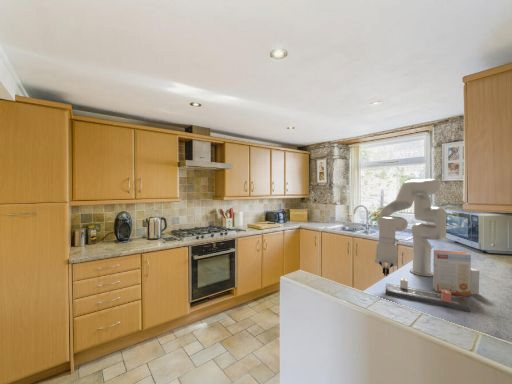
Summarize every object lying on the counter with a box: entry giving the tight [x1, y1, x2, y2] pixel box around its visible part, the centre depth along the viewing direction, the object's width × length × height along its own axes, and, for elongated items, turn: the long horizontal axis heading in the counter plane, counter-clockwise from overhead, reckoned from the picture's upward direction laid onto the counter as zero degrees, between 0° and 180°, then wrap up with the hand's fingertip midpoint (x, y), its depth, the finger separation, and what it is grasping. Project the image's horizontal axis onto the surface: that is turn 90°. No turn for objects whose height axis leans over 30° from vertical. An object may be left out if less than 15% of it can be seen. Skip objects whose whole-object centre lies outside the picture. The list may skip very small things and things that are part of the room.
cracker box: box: [432, 249, 472, 297], centre depth 122 cm, size 14×6×21 cm, turn 71°
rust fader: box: [441, 289, 452, 303], centre depth 108 cm, size 4×3×4 cm
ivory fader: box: [399, 277, 409, 289], centre depth 122 cm, size 4×3×4 cm
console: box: [385, 283, 471, 313], centre depth 115 cm, size 11×32×2 cm, turn 60°
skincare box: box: [470, 267, 480, 295], centre depth 124 cm, size 6×4×12 cm
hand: (385, 275), depth 126 cm, fingers closed
